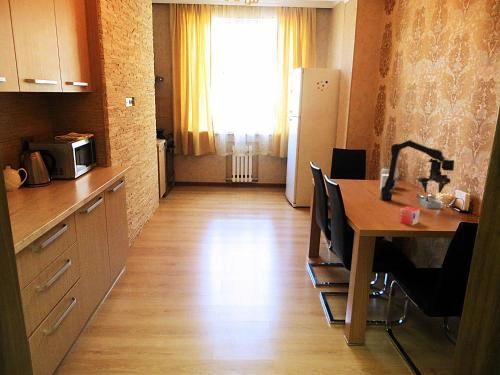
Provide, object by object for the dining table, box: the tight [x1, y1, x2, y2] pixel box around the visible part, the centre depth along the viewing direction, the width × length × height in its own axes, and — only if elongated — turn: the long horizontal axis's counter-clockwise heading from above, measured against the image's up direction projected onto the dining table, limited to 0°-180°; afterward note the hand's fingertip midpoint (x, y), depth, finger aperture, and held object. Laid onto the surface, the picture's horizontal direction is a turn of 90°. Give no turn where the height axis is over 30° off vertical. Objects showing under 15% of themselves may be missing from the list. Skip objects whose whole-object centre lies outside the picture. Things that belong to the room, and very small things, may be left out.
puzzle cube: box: [398, 206, 421, 226], centre depth 207 cm, size 8×8×8 cm
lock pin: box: [415, 192, 427, 200], centre depth 253 cm, size 3×11×3 cm, turn 0°
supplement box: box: [379, 173, 389, 191], centre depth 283 cm, size 7×7×13 cm
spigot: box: [427, 193, 436, 203], centre depth 240 cm, size 5×5×8 cm
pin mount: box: [417, 195, 428, 203], centre depth 250 cm, size 5×5×4 cm
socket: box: [419, 199, 442, 209], centre depth 242 cm, size 9×12×4 cm
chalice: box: [380, 166, 400, 189], centre depth 297 cm, size 14×14×15 cm
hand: (432, 192), depth 239 cm, fingers open, 9 cm apart
